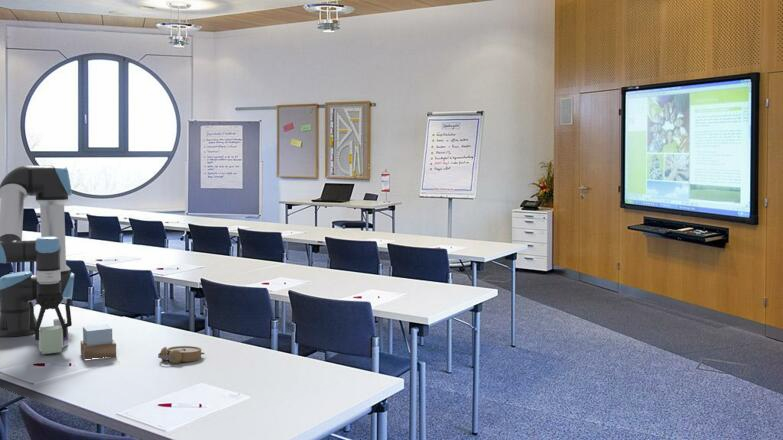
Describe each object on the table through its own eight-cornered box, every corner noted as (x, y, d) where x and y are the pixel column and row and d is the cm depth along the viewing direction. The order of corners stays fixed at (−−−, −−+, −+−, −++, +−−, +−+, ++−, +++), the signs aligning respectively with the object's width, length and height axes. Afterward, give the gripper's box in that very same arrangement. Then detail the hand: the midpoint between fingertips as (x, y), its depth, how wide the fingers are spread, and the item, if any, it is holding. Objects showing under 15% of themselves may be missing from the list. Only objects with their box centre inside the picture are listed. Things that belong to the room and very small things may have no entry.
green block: (40, 349, 262) (40, 327, 261) (59, 347, 265) (58, 325, 264) (42, 354, 256) (41, 330, 256) (61, 351, 259) (60, 329, 259)
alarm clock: (208, 350, 255) (170, 350, 244) (207, 364, 255) (168, 365, 244) (189, 344, 263) (151, 345, 251) (187, 359, 262) (149, 359, 251)
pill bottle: (71, 344, 274) (70, 318, 273) (63, 348, 269) (62, 321, 268) (57, 344, 275) (56, 317, 274) (49, 347, 269) (48, 320, 269)
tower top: (83, 341, 259) (82, 326, 259) (107, 338, 264) (107, 324, 263) (87, 345, 253) (87, 331, 252) (112, 343, 257) (112, 328, 256)
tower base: (80, 355, 260) (80, 340, 260) (111, 351, 265) (111, 337, 265) (84, 361, 252) (84, 347, 251) (116, 357, 257) (116, 343, 256)
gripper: (18, 286, 250) (21, 354, 252) (80, 281, 260) (82, 347, 262) (17, 282, 257) (19, 349, 259) (77, 278, 266) (79, 342, 268)
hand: (51, 348), depth 260 cm, fingers closed on green block, 6 cm apart
